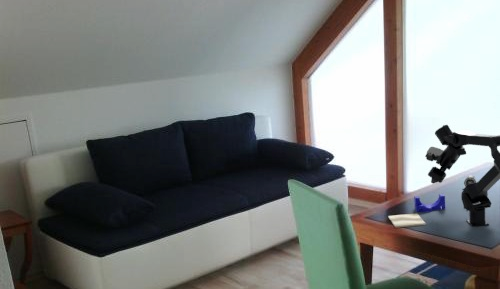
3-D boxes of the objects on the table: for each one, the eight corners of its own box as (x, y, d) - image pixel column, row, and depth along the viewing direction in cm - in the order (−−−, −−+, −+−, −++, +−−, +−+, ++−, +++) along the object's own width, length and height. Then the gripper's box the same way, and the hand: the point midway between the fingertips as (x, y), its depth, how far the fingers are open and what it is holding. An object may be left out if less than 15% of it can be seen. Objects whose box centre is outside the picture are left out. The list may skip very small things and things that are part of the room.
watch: (463, 202, 223) (462, 178, 221) (466, 196, 230) (465, 173, 228) (477, 203, 220) (476, 179, 218) (479, 197, 227) (479, 173, 225)
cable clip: (417, 212, 218) (416, 199, 217) (414, 209, 223) (414, 196, 221) (446, 210, 217) (445, 197, 216) (443, 207, 221) (442, 193, 220)
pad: (425, 224, 204) (425, 223, 204) (395, 227, 204) (395, 226, 204) (417, 214, 216) (416, 213, 215) (388, 217, 216) (388, 215, 216)
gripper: (443, 130, 216) (429, 154, 228) (423, 156, 206) (410, 178, 218) (467, 144, 213) (452, 167, 224) (448, 171, 202) (434, 193, 214)
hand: (436, 176), depth 220 cm, fingers open, 9 cm apart
